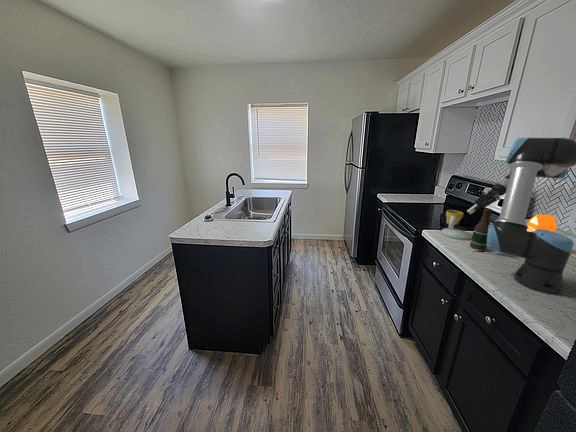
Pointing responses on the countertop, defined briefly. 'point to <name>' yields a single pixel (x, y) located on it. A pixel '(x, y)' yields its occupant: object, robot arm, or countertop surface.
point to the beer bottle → (481, 232)
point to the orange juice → (542, 223)
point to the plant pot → (454, 213)
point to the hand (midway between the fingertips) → (468, 212)
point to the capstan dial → (455, 231)
